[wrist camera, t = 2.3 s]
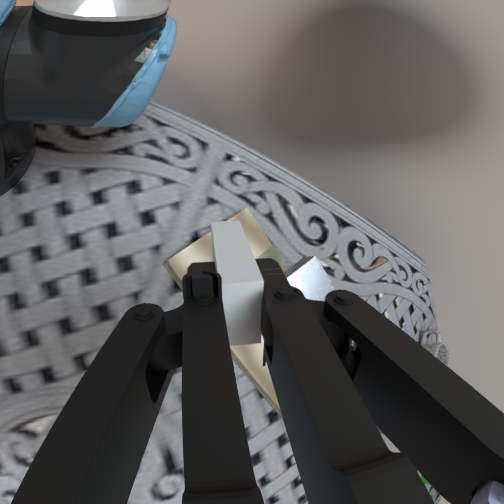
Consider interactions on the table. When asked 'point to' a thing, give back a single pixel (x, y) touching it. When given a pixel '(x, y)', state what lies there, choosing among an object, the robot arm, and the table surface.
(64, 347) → the table surface
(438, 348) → the mug
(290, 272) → the grey lever
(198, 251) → the switch panel
